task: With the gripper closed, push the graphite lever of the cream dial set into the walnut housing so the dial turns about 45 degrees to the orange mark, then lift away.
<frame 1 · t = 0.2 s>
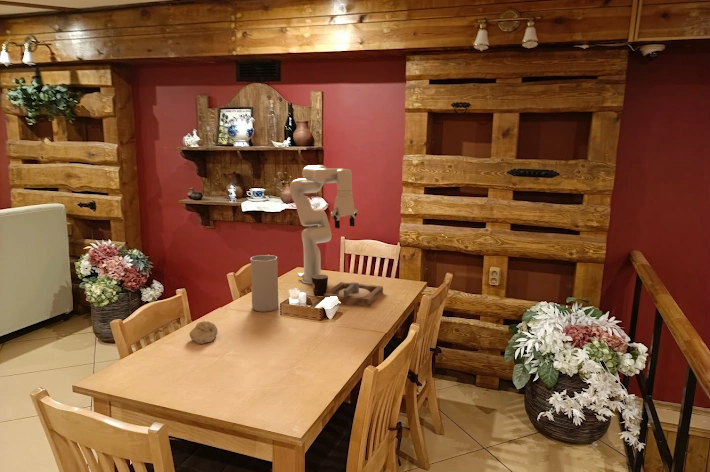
hand: (344, 227, 258), 36 cm above the table, tool pointing down, fingers open, 9 cm apart
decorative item: (204, 340, 206), on the table
dial: (352, 290, 257), point 5 cm above the table, hinge at 0.0°
coffee mug: (320, 294, 267), on the table
dial housing: (354, 297, 261), on the table
cylinder vase: (265, 308, 244), on the table
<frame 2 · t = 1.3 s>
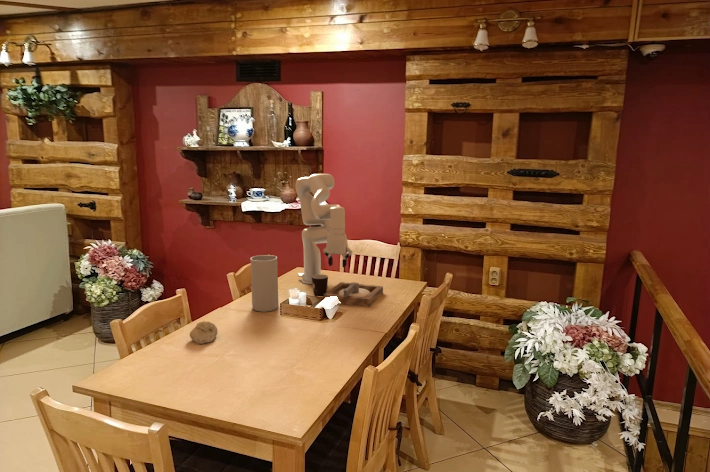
hand: (337, 265, 254), 18 cm above the table, tool pointing down, fingers open, 6 cm apart
nothing on the table moved.
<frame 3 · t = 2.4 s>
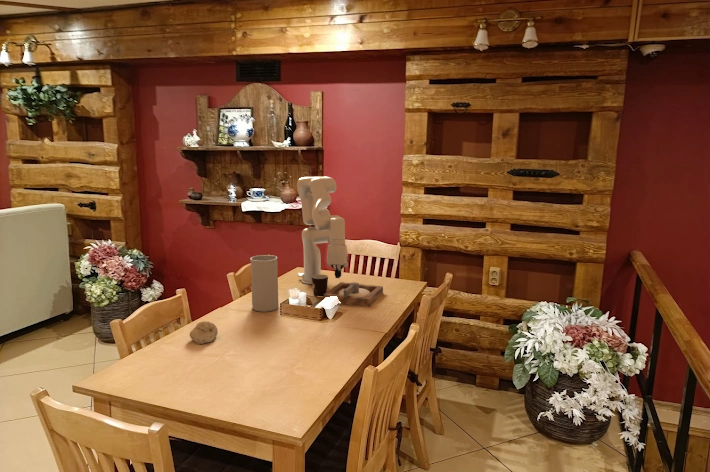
hand: (338, 277, 255), 12 cm above the table, tool pointing down, fingers closed
nothing on the table moved.
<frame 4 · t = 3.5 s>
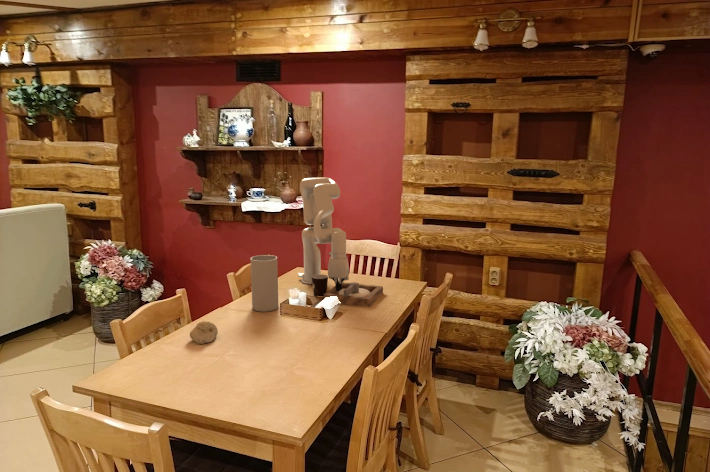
hand: (338, 290, 257), 5 cm above the table, tool pointing down, fingers closed
nothing on the table moved.
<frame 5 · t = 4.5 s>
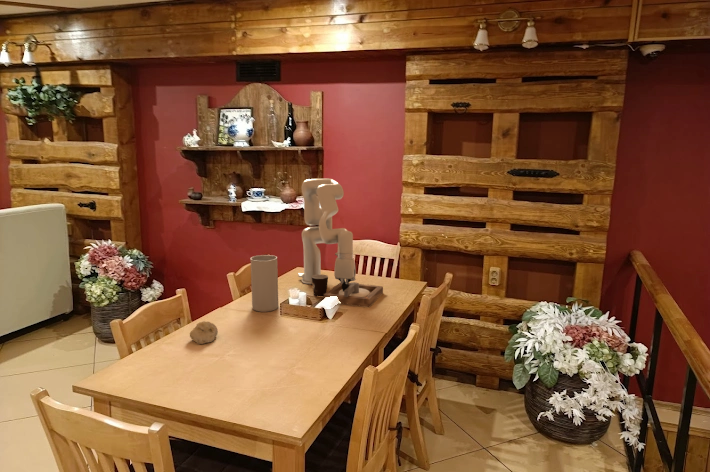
hand: (345, 290, 255), 5 cm above the table, tool pointing down, fingers closed
dial: (352, 290, 257), point 5 cm above the table, hinge at 1.5°, touching gripper
everything else where it was.
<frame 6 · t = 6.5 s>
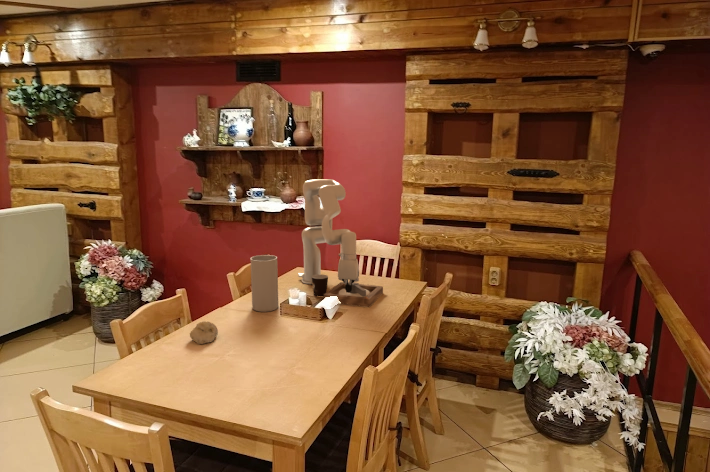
hand: (348, 291, 255), 5 cm above the table, tool pointing down, fingers closed
dial: (356, 290, 257), point 5 cm above the table, hinge at 42.4°
everything else where it was.
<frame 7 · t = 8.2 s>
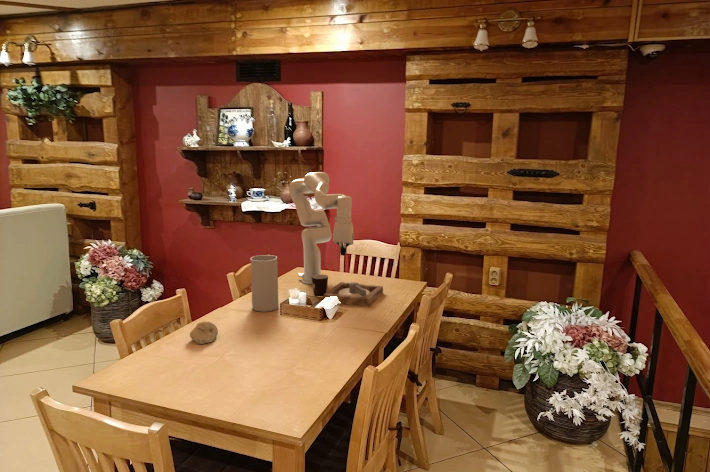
hand: (343, 254, 262), 22 cm above the table, tool pointing down, fingers closed
nothing on the table moved.
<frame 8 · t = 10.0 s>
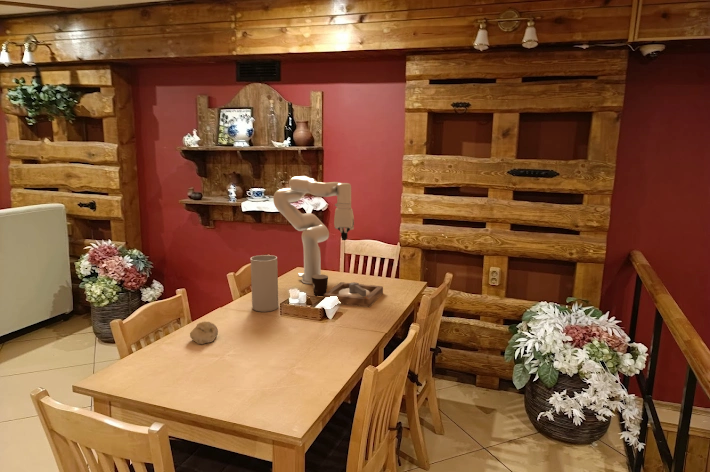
hand: (344, 239, 273), 27 cm above the table, tool pointing down, fingers closed
nothing on the table moved.
at the end: dial at +42° (first picture: +0°); coffee mug moved 0.2 cm from its start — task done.
